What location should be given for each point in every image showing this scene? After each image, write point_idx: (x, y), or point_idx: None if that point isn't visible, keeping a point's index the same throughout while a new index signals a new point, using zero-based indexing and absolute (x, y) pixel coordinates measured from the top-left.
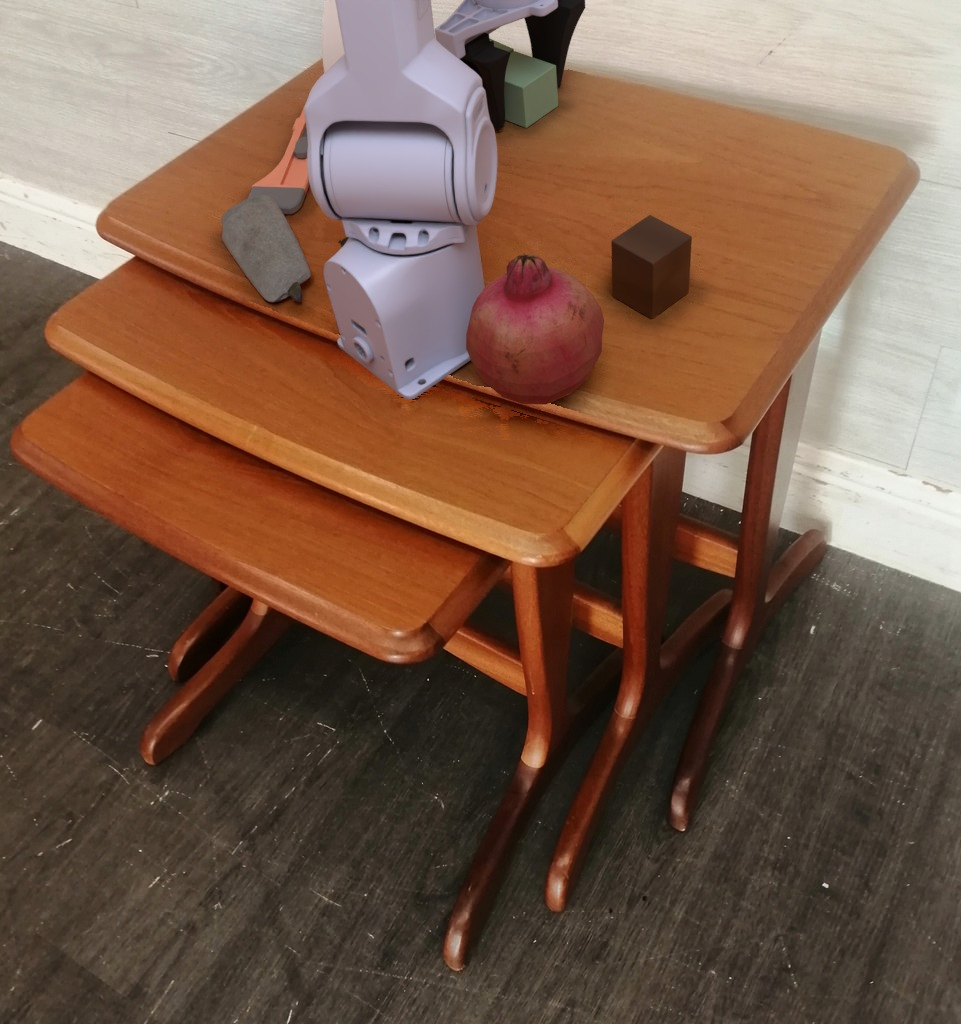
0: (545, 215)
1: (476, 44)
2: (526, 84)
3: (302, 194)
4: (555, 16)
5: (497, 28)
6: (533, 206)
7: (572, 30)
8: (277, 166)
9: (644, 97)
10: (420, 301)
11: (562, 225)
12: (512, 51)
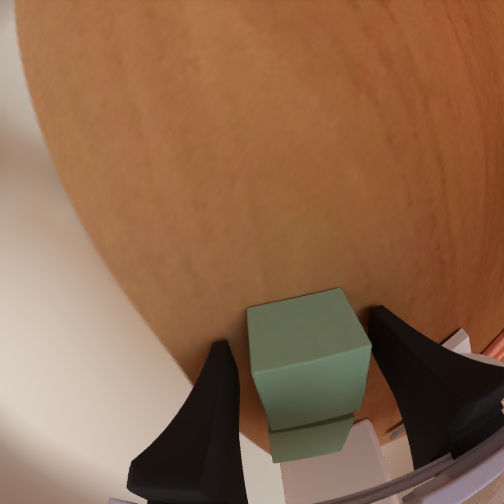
0: (472, 68)
1: (490, 430)
2: (357, 350)
3: None
4: (219, 475)
5: (411, 472)
6: (472, 98)
7: (175, 428)
8: (502, 356)
9: (93, 218)
10: None
11: (466, 33)
12: (272, 430)
